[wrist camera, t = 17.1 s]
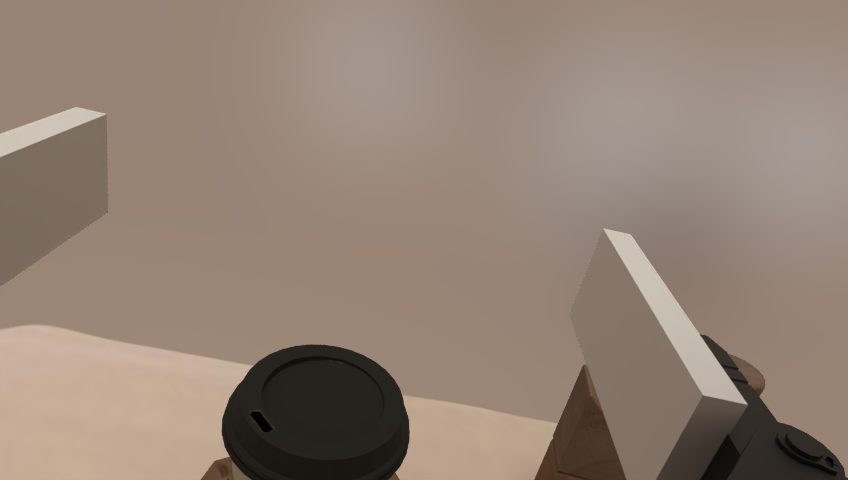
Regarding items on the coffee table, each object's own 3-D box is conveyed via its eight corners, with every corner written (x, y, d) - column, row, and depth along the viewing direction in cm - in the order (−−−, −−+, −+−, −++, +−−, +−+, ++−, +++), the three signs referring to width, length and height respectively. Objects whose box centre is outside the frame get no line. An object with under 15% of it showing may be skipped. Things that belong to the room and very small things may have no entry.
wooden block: (523, 499, 46) (601, 318, 39) (652, 534, 46) (756, 358, 39) (525, 539, 43) (611, 349, 36) (664, 576, 43) (780, 393, 35)
